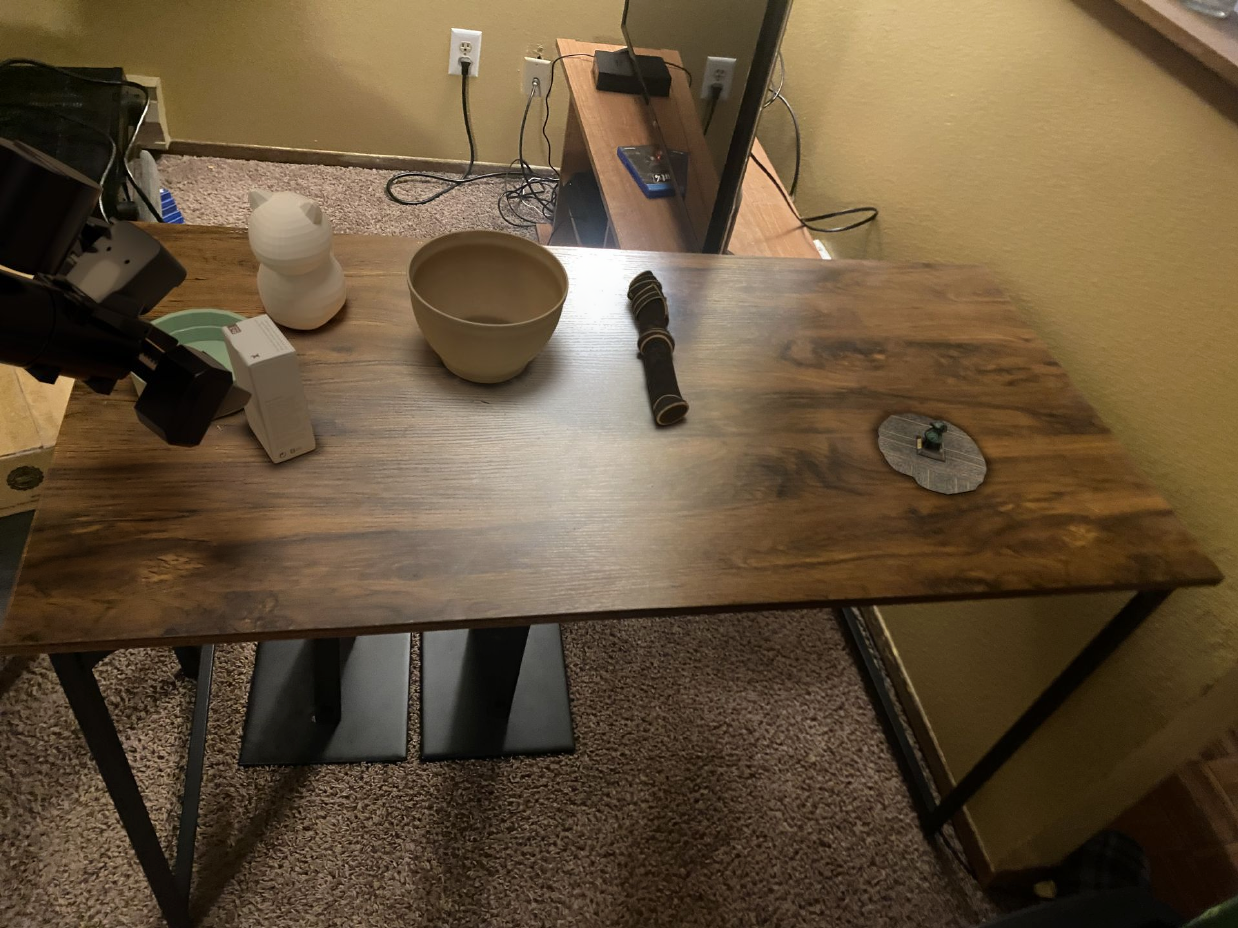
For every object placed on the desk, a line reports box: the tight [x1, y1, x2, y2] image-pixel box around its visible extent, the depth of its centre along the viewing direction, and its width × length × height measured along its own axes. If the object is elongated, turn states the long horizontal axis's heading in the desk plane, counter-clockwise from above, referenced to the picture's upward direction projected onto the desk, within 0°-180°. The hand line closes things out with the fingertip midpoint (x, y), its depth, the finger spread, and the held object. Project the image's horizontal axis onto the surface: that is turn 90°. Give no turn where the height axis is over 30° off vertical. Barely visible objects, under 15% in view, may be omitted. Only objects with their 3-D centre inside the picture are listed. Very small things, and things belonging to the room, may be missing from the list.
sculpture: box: [877, 412, 987, 495], centre depth 92 cm, size 12×9×8 cm
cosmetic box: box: [221, 313, 317, 464], centre depth 75 cm, size 6×4×12 cm
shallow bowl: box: [129, 308, 249, 418], centre depth 82 cm, size 12×12×4 cm
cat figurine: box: [247, 187, 348, 331], centre depth 87 cm, size 9×12×15 cm
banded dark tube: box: [626, 269, 690, 426], centre depth 95 cm, size 4×5×25 cm
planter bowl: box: [405, 228, 570, 384], centre depth 88 cm, size 16×16×11 cm
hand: (211, 371), depth 68 cm, fingers open, 9 cm apart
